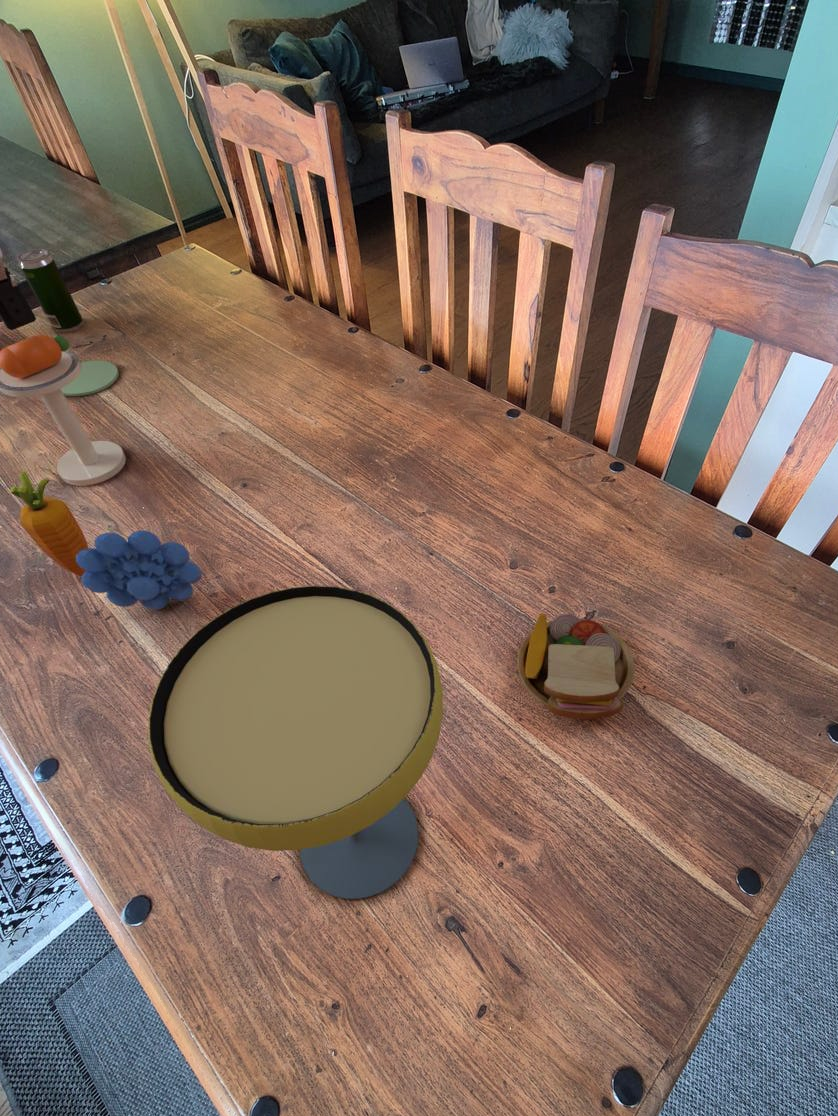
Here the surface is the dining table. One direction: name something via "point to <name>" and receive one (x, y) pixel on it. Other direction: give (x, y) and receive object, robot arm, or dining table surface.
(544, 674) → the toy sandwich meal
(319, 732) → the cocktail glass
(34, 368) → the carrot
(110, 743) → the dining table surface
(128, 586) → the blue knobbed flower
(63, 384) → the cake stand
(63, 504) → the carrot
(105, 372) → the mat
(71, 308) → the beer can
